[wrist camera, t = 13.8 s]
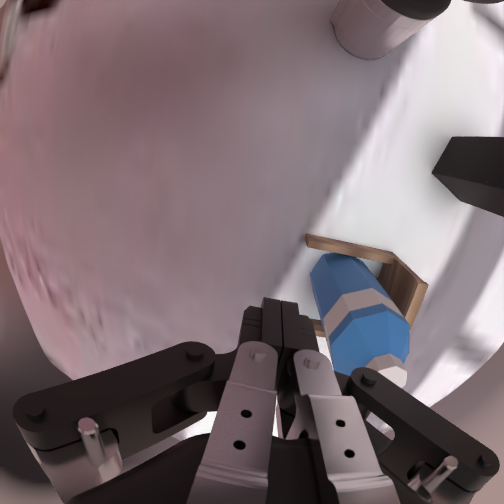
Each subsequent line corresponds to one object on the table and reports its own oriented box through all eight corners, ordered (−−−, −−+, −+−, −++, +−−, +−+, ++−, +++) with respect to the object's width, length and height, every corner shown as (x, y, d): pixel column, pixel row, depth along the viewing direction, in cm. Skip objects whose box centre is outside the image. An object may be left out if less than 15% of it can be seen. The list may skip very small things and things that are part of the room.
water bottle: (357, 307, 49) (407, 416, 26) (303, 299, 49) (324, 416, 26) (372, 254, 46) (447, 344, 23) (316, 244, 46) (357, 337, 23)
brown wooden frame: (284, 320, 51) (287, 368, 39) (306, 233, 46) (319, 263, 34) (365, 332, 51) (386, 378, 39) (393, 252, 46) (428, 284, 34)
